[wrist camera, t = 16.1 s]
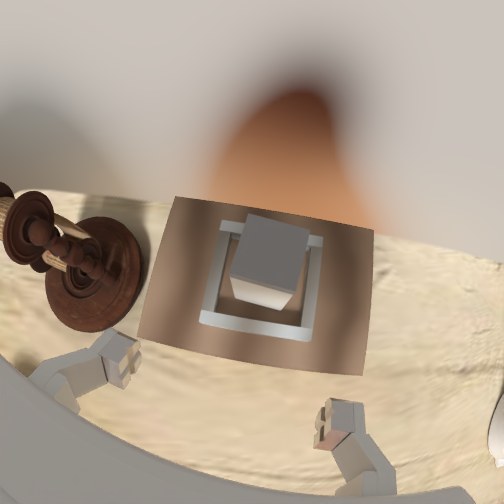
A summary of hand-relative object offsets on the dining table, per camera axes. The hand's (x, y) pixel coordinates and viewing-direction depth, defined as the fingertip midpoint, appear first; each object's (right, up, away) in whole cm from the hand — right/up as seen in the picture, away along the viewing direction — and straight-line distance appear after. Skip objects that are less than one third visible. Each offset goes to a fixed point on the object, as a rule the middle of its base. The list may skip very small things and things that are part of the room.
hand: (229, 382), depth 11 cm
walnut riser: (+2, 0, +21) cm, 21 cm away
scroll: (-19, +2, +22) cm, 29 cm away
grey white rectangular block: (+2, +3, +14) cm, 14 cm away
